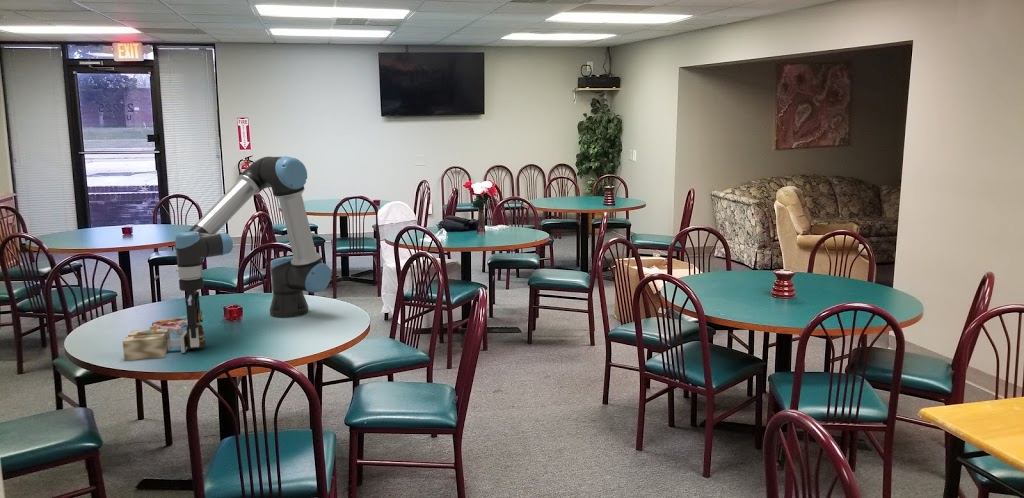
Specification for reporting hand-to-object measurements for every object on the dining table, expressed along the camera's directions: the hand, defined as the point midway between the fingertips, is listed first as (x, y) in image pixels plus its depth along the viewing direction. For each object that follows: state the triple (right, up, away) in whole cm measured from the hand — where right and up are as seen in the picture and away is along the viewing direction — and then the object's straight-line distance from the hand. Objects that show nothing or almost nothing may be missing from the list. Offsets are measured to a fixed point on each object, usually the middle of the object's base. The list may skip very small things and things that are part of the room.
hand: (196, 344), depth 264 cm
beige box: (-15, -3, -3) cm, 15 cm away
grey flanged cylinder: (-10, -2, -2) cm, 10 cm away
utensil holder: (0, -1, 0) cm, 1 cm away
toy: (-20, +1, +27) cm, 34 cm away
